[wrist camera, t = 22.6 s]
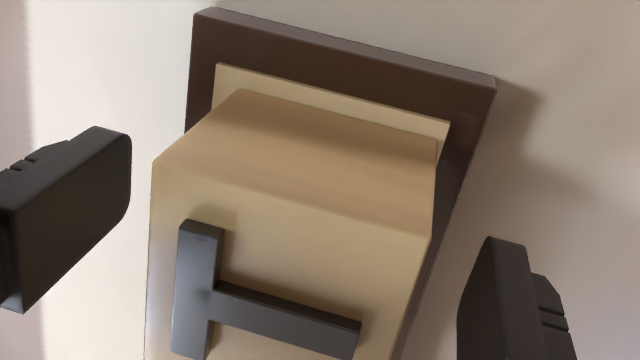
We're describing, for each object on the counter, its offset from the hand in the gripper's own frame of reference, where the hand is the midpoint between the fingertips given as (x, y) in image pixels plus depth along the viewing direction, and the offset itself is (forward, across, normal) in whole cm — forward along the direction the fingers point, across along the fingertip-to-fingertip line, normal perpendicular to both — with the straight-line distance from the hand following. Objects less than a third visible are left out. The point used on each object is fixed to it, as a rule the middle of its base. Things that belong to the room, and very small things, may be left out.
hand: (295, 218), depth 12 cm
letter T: (+1, 0, 0) cm, 1 cm away
